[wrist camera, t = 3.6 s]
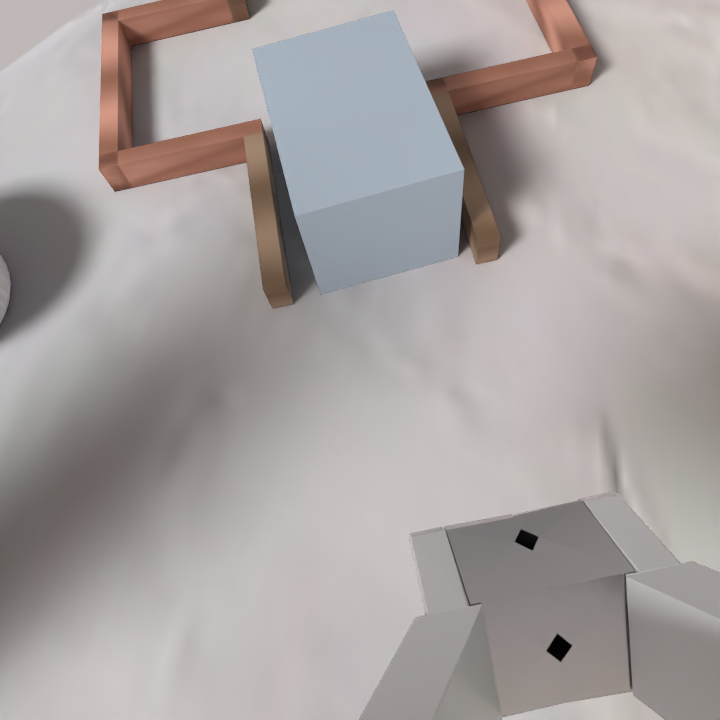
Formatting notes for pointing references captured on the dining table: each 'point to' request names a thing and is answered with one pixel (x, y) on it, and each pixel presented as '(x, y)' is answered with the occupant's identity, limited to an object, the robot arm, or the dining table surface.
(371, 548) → the dining table surface
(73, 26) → the dining table surface
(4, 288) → the ramekin
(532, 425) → the dining table surface
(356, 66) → the slate block
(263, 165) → the channel
